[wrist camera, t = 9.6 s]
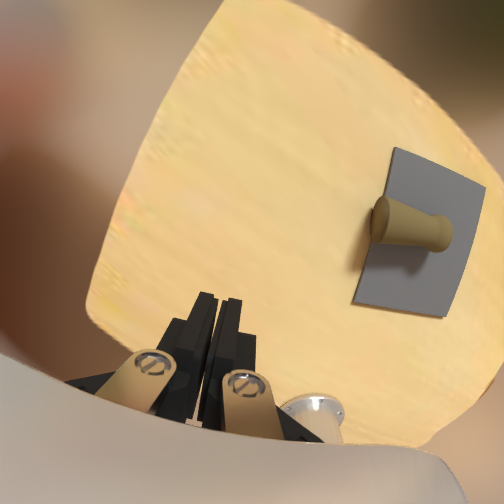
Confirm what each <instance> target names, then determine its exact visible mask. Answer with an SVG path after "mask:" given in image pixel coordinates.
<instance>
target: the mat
mask: <svg viewBox="0 0 504 504" xmlns="http://www.w3.org/2000/svg"><path fill="white" fill-rule="evenodd" d="M485 190H486V187H484V186H482V185H480V184H478V183H476V182H474V181H472V180H470V179H468V178H466V177H464V176H462V175H460V174H458V173H456V172H454V171H452V170H450V169H448V168H445V167H443V166H441V165H439V164H436V163H434V162H432V161H430V160H427V159H425V158H423V157H420V156H418V155H415V154H413V153H410V152H408V151H405V150H403V149H400V148H398V147H394V150H393V155H392V160H391V165H390V170H389V174H388V179H387V183H386V188H385V192H384V196H387V197H389V198H391V199H394V200H396V201H399V202H401V203H403V204H405V205H408V206H410V207H412V208H414V209H417V210H419V211H421V212H423V213H425V214H428V215H430V216H431V215H434V214H440V215H443V216H445V217H447V218H448V219H449V221H450V222H451V224H452V227H453V238H452V242H451V244H450V246H449V247H448V248H447V249H446V250H445V251H443V252H440V253H434V252H431V251H429V250H428V249H426V248H425V246H412V245H394V244H377V243H374V242H373V241H371V245H370V248H369V252H368V255H367V258H366V261H365V265H364V268H363V271H362V274H361V277H360V280H359V283H358V286H357V289H356V292H355V295H354V298H353V301H354V302H357V303H363V304H369V305H374V306H380V307H386V308H392V309H398V310H404V311H410V312H416V313H423V314H429V315H435V316H442V317H446V316H447V313H448V311H449V309H450V306H451V304H452V301H453V299H454V296H455V294H456V291H457V289H458V286H459V283H460V280H461V278H462V275H463V272H464V269H465V266H466V263H467V260H468V257H469V254H470V250H471V247H472V244H473V240H474V237H475V233H476V229H477V225H478V221H479V217H480V213H481V209H482V204H483V200H484V195H485Z"/></svg>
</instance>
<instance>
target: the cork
mask: <svg viewBox="0 0 504 504" xmlns="http://www.w3.org/2000/svg"><path fill="white" fill-rule="evenodd" d="M370 235H371V239H372V241H373V242H374V243H377V244H394V245H412V246H425V248H426V249H428V250H429V251H431V252H434V253H440V252H443V251H445V250H446V249H447V248H448V247H449V246H450V244H451V242H452V238H453V227H452V224H451V222H450V221H449V219H448V218H447V217H445V216H443V215H440V214H434V215H431V216H430V215H428V214H425V213H423V212H421V211H419V210H417V209H414V208H412V207H410V206H408V205H405V204H403V203H401V202H399V201H396V200H394V199H391V198H389V197H387V196H381V197H380V198H379V199H378V200H377V202H376V204H375V206H374V208H373V211H372V216H371V222H370Z"/></svg>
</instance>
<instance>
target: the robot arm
mask: <svg viewBox="0 0 504 504" xmlns="http://www.w3.org/2000/svg"><path fill="white" fill-rule="evenodd" d="M218 300H219V299H216V298H214V294H210V293H205V292H200V293H199V296H198V298H197V300H196V302H195V304H194V306H193V308H192V310H191V313H190V315H189V317H188V319H187V321H186V320H182V319H178V318H173V319H172V321H171V323H170V324H169V326H168V328H167V330H166V332H165V333H164V335H163V337H162V339H161V341H160V343H159V344H158V346H157V348H156V349H144V350H140V351H137V352H135V353H134V354H133V355H132V356H131V357H130V358H129V359H128V360H127V361H126V362H125V363H124V364H123V365H122V366H121V367H120V368H119V369H118V370H117V371H115V372H111V373H106V374H101V375H96V376H90V377H85V378H80V379H75V380H69V381H66V382H61V381H59V380H57V379H55V378H53V377H51V376H49V375H46V374H44V373H42V372H40V371H38V370H36V369H34V368H32V367H30V366H28V365H26V364H24V363H22V362H20V361H18V360H16V359H14V358H12V357H10V356H8V355H6V354H3V353H1V352H0V504H469V502H468V500H467V497H466V495H465V494H464V491H463V489H462V487H461V485H460V484H459V482H458V480H457V478H456V477H455V475H454V474H453V472H452V471H451V469H450V468H449V467H448V465H447V464H446V463H445V462H444V461H443V460H442V459H441V458H439V457H438V456H437V455H434V454H432V453H430V452H427V451H424V450H421V449H416V448H412V447H407V446H399V445H389V444H345V443H343V439H342V435H341V432H340V428H339V426H340V425H341V424H342V422H343V420H344V415H345V414H344V409H343V406H342V404H341V403H340V402H339V401H338V400H337V399H336V398H334V397H332V396H328V395H323V394H310V395H304V396H300V397H297V398H295V399H292V400H290V401H289V402H287V403H285V404H284V405H283V406H282V407H281V408H279V407H278V406H276V405H275V402H274V398H273V394H272V390H271V386H270V384H269V382H268V381H267V380H266V379H265V378H264V377H263V376H261V375H260V374H258V373H256V372H255V358H256V335H252V334H247V333H241V332H238V329H239V322H240V314H241V307H242V300H238V299H233V298H229V299H228V301H225V300H223V301H222V305H221V308H220V312H219V315H218V319H217V323H216V326H215V330H214V333H213V328H214V322H215V317H216V311H217V306H218ZM212 333H213V337H212ZM211 339H212V341H211ZM204 372H205V373H204ZM203 376H204V379H203ZM202 380H203V385H202V391H201V398H200V404H199V410H198V417H197V421H201V422H202V427H197V426H193V425H189V424H185V422H186V418H188V419H192V418H193V414H194V411H195V407H196V402H197V399H198V395H199V391H200V387H201V384H202Z"/></svg>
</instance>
